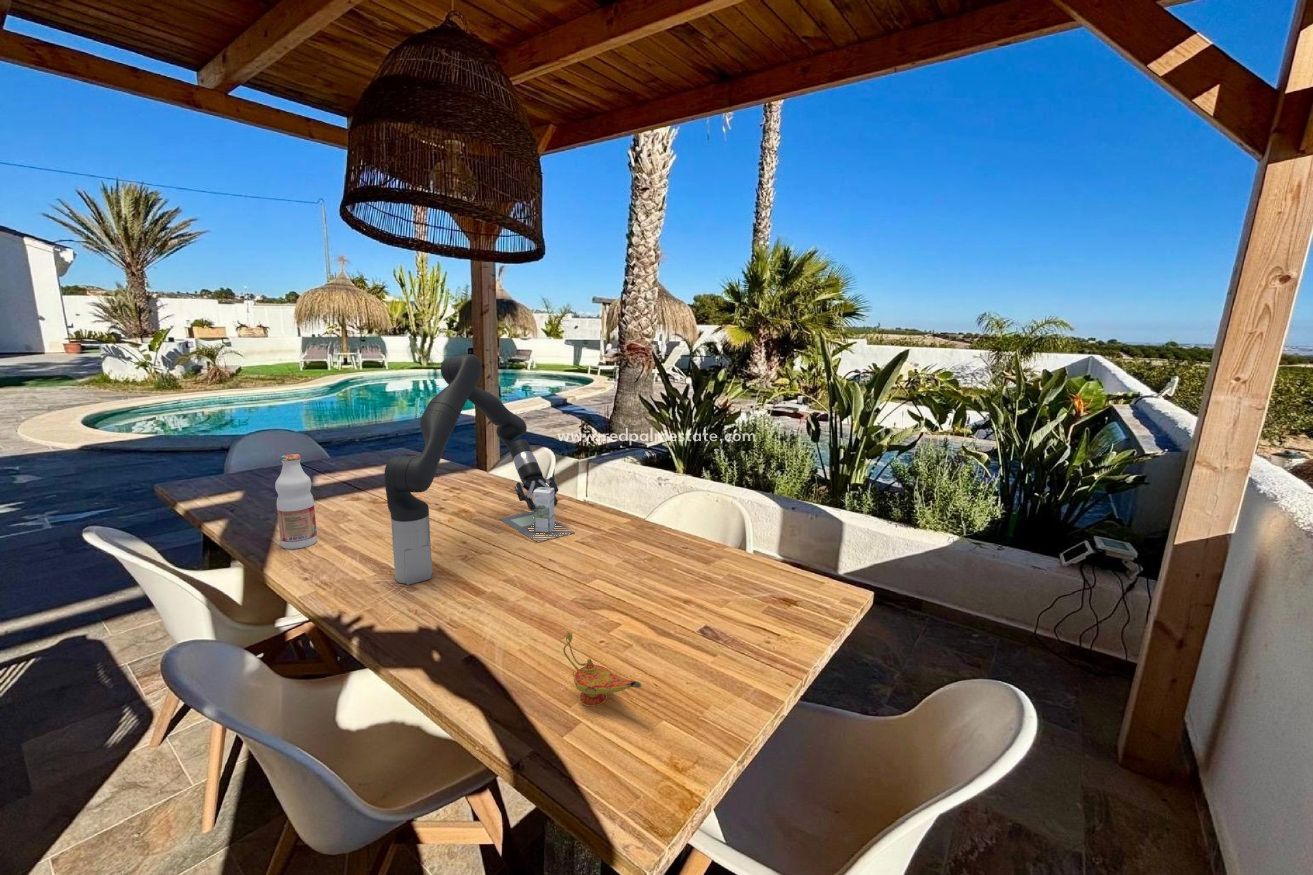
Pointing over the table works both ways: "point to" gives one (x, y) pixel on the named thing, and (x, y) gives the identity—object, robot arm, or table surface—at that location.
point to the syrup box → (543, 509)
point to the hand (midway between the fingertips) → (544, 507)
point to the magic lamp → (596, 680)
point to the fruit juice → (295, 505)
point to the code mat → (527, 520)
